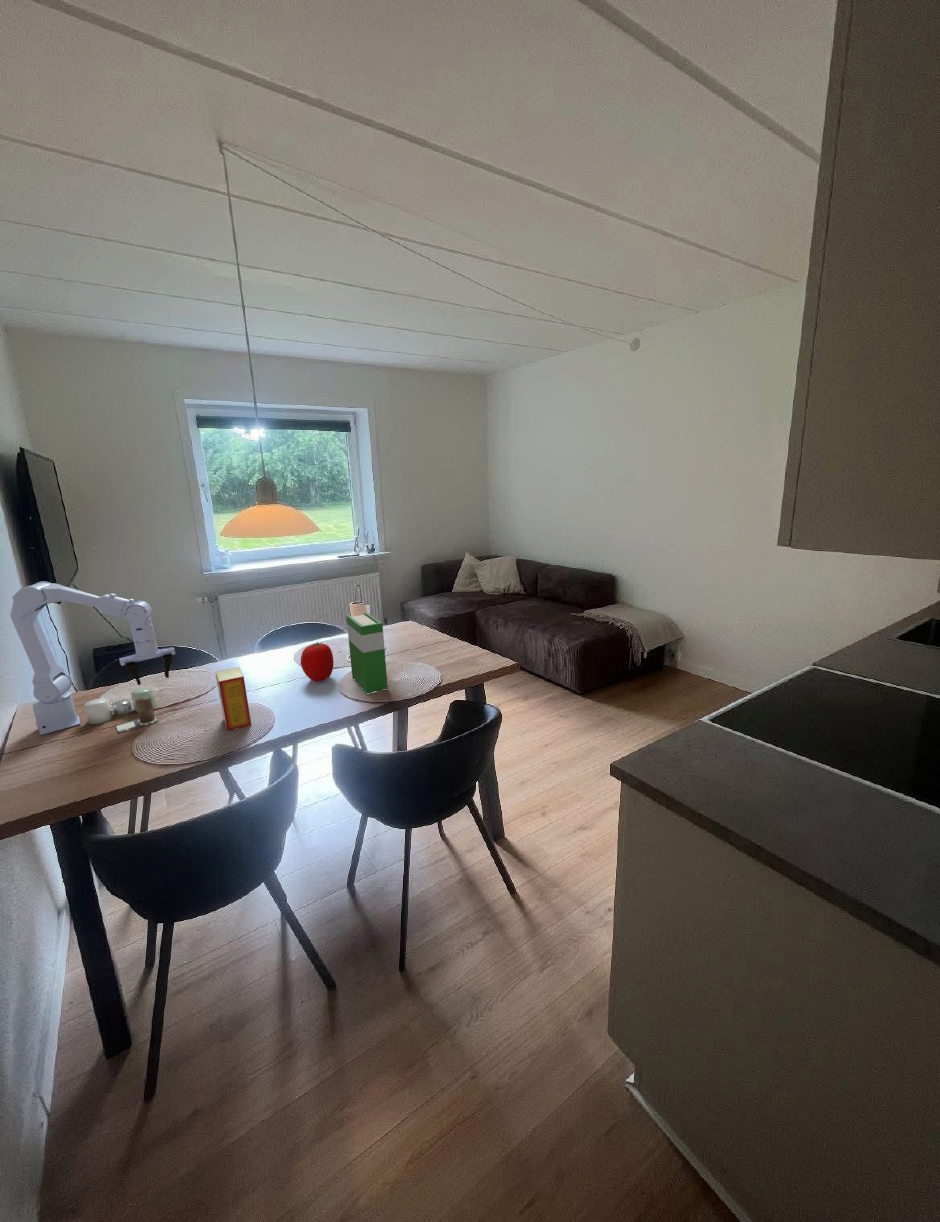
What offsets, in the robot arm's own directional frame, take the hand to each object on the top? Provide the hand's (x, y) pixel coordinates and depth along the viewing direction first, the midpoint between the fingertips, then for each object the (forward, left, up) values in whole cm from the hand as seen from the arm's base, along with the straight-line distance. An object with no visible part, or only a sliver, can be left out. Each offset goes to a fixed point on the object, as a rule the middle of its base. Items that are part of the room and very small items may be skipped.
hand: (153, 680), depth 155 cm
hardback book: (+60, -30, -11) cm, 68 cm away
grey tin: (-9, +7, -10) cm, 16 cm away
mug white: (-15, +6, -10) cm, 19 cm away
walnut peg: (-4, -6, -10) cm, 12 cm away
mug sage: (-3, +6, -10) cm, 12 cm away
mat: (-7, -6, -10) cm, 14 cm away
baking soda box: (+16, -27, -11) cm, 33 cm away
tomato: (+49, -13, -11) cm, 52 cm away
